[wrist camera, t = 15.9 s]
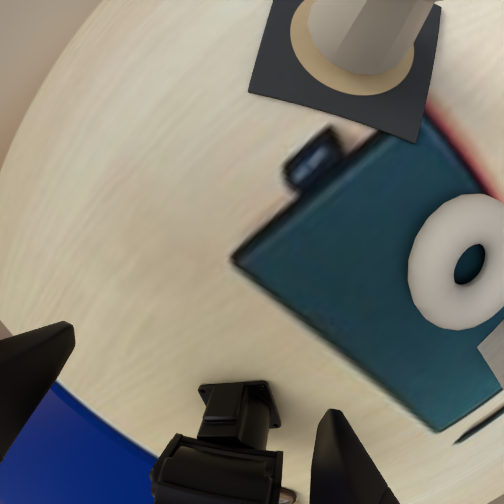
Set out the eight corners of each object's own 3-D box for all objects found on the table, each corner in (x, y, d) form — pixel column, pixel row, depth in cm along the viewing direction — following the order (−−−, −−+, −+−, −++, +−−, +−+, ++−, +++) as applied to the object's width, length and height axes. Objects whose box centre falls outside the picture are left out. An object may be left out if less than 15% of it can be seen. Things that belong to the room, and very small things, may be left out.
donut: (523, 246, 18) (462, 159, 17) (547, 263, 15) (488, 165, 14) (448, 334, 22) (373, 266, 20) (463, 359, 18) (385, 290, 17)
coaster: (413, 143, 17) (416, 144, 17) (248, 92, 18) (247, 91, 17) (439, 8, 13) (442, 6, 13) (287, -41, 14) (286, -44, 13)
